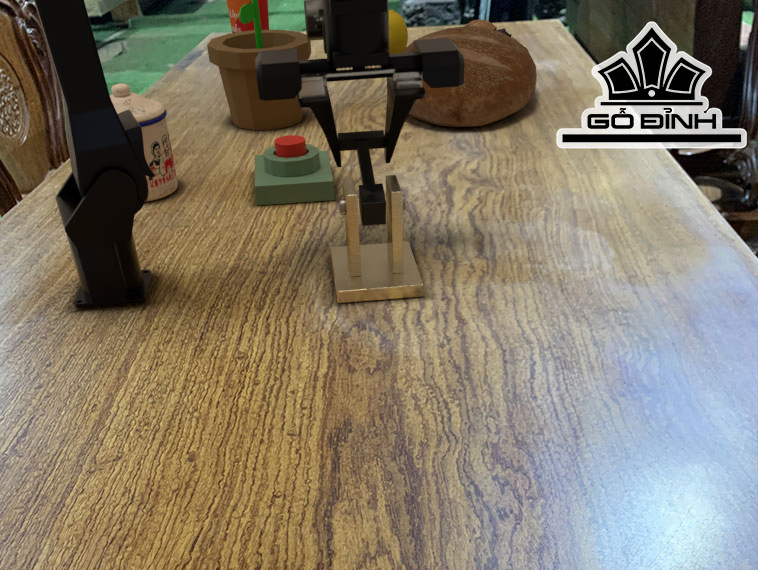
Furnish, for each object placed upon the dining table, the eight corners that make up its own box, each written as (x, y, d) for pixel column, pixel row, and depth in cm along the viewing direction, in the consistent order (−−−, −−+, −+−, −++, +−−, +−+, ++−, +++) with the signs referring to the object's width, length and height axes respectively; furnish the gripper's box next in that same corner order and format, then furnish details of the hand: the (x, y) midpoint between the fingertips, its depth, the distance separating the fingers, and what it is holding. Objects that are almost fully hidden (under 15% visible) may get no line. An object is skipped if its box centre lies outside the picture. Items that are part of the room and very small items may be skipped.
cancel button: (307, 159, 96) (305, 143, 95) (276, 161, 96) (274, 145, 95) (306, 149, 99) (304, 134, 98) (275, 151, 99) (274, 136, 97)
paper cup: (227, 67, 146) (214, -27, 137) (268, 61, 148) (259, -32, 139) (240, 76, 140) (228, -21, 131) (283, 70, 143) (274, -25, 133)
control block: (334, 200, 96) (332, 164, 93) (256, 205, 95) (252, 170, 93) (328, 168, 104) (326, 135, 101) (257, 173, 103) (253, 139, 101)
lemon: (372, 65, 144) (370, 12, 138) (381, 57, 148) (380, 6, 142) (403, 66, 142) (402, 13, 137) (411, 59, 146) (411, 6, 141)
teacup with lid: (167, 205, 96) (145, 96, 88) (92, 204, 97) (64, 96, 89) (196, 169, 105) (178, 68, 98) (127, 169, 106) (105, 68, 98)
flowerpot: (296, 137, 114) (271, -139, 94) (202, 131, 117) (158, -137, 98) (329, 108, 124) (313, -147, 105) (242, 103, 128) (210, -144, 108)
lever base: (330, 258, 84) (324, 169, 78) (409, 252, 84) (408, 163, 78) (337, 303, 76) (330, 208, 70) (423, 296, 77) (423, 201, 71)
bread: (380, 132, 114) (378, 65, 109) (400, 66, 142) (400, 10, 137) (540, 132, 113) (546, 64, 107) (529, 65, 140) (534, 8, 135)
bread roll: (475, 51, 150) (476, 28, 147) (444, 43, 155) (445, 21, 152) (517, 41, 154) (519, 19, 152) (486, 34, 159) (487, 12, 157)
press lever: (338, 149, 82) (337, 127, 80) (383, 146, 82) (383, 124, 80) (349, 227, 76) (348, 204, 74) (398, 223, 76) (398, 201, 74)
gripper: (444, -45, 77) (441, 129, 88) (245, -33, 76) (266, 142, 87) (468, -21, 69) (462, 168, 80) (245, -6, 68) (269, 183, 79)
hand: (363, 163), depth 82 cm, fingers closed on press lever, 4 cm apart
